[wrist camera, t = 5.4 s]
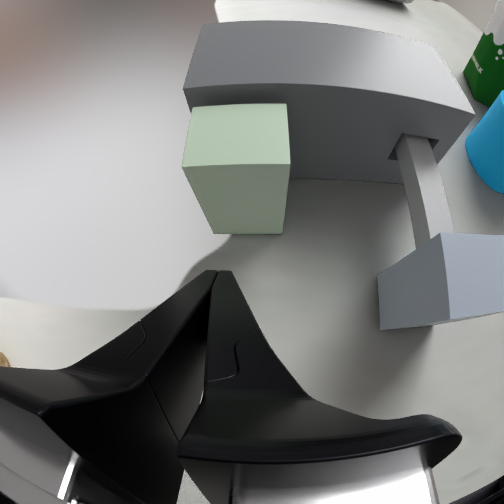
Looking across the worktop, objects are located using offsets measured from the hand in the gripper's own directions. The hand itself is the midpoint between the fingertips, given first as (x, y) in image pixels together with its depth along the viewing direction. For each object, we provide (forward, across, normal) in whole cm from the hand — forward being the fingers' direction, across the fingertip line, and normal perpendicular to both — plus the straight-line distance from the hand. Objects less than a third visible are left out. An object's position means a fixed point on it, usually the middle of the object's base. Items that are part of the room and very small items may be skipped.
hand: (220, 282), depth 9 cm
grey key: (+12, -12, +3) cm, 17 cm away
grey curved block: (+18, -6, -2) cm, 19 cm away
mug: (+19, -29, -3) cm, 35 cm away
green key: (+17, 0, -1) cm, 17 cm away
